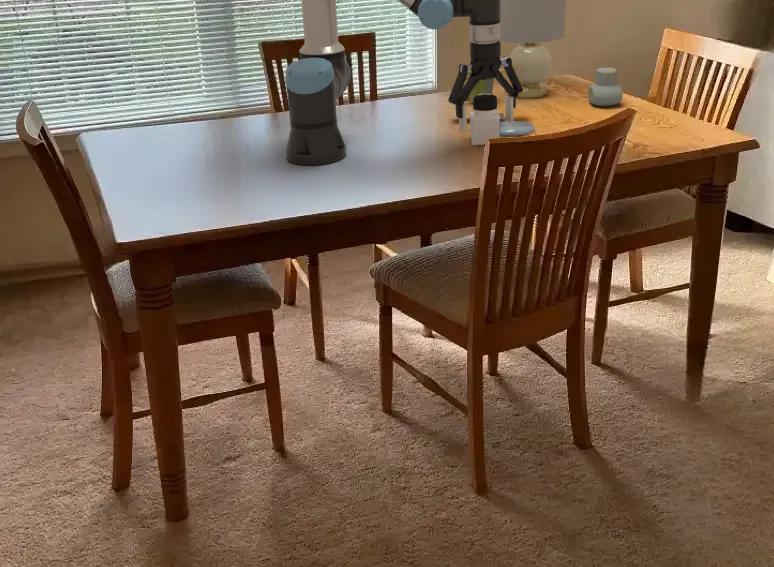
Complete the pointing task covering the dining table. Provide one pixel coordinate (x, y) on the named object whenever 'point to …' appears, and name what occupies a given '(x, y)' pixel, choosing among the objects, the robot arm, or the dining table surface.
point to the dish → (515, 128)
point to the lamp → (532, 38)
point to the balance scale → (489, 90)
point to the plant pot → (479, 87)
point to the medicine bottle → (484, 119)
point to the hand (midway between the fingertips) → (486, 125)
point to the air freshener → (605, 88)
